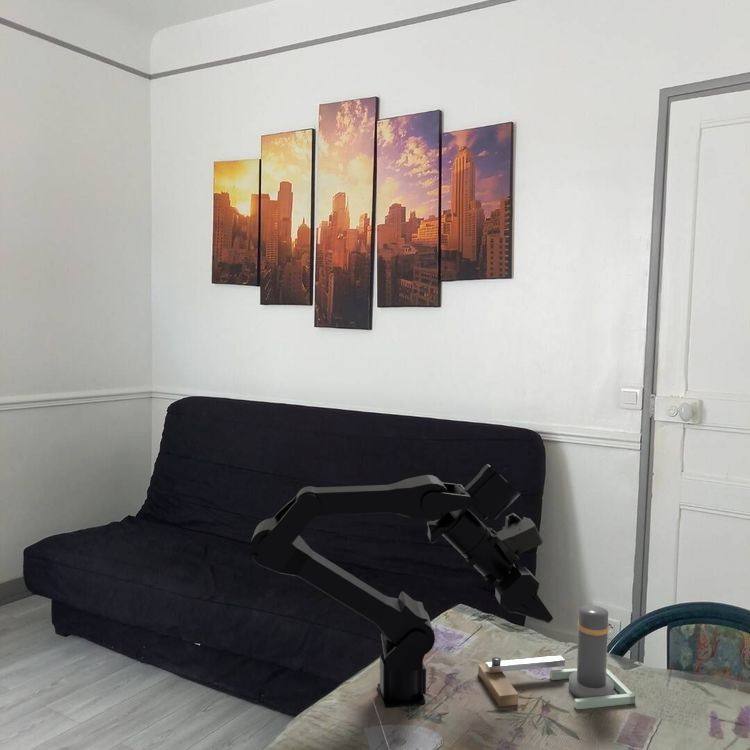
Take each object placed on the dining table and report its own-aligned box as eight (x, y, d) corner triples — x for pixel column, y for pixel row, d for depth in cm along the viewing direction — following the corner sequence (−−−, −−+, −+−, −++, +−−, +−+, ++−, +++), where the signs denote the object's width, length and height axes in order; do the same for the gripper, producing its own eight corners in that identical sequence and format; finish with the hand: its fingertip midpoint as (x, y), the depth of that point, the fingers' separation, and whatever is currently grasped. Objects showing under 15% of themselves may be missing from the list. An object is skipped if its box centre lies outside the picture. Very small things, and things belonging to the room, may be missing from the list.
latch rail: (499, 706, 107) (499, 695, 107) (478, 674, 117) (478, 664, 117) (518, 704, 107) (518, 694, 107) (495, 672, 117) (495, 662, 117)
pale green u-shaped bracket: (576, 709, 106) (576, 701, 106) (549, 677, 116) (549, 670, 115) (634, 703, 108) (635, 695, 108) (603, 672, 117) (604, 665, 117)
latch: (489, 672, 113) (489, 662, 113) (485, 668, 114) (485, 657, 114) (564, 665, 115) (565, 655, 115) (560, 661, 117) (560, 650, 117)
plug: (581, 703, 108) (583, 622, 107) (561, 681, 114) (563, 603, 113) (621, 699, 109) (624, 618, 108) (599, 677, 116) (602, 600, 114)
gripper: (525, 520, 99) (600, 595, 101) (497, 489, 118) (560, 552, 119) (469, 575, 100) (545, 649, 101) (450, 535, 118) (514, 598, 120)
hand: (542, 607), depth 110 cm, fingers open, 9 cm apart
